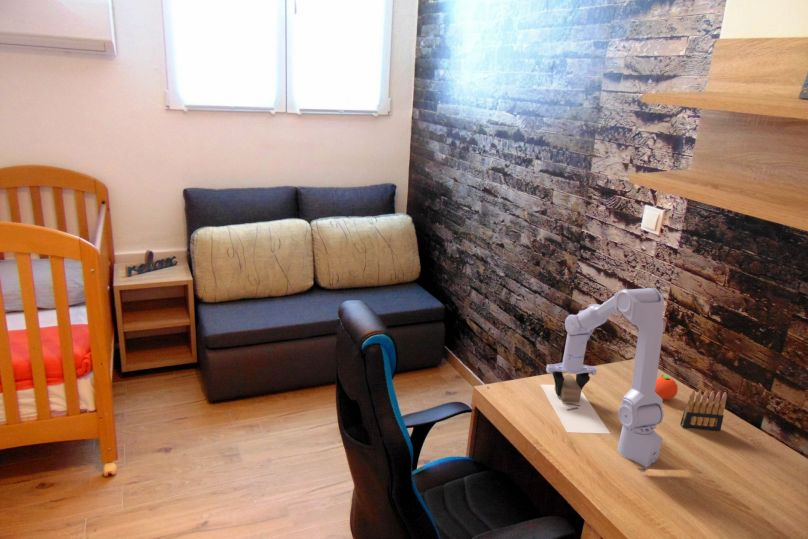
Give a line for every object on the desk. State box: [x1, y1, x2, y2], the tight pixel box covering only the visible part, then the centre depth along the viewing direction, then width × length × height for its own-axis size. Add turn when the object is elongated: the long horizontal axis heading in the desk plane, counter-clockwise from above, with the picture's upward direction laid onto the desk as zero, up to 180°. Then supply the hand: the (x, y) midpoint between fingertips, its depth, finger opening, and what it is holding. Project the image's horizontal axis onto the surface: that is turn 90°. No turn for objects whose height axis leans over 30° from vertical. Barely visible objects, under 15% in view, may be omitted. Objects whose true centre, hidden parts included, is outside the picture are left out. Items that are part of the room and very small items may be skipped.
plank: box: [539, 384, 611, 435], centre depth 175 cm, size 26×12×1 cm, turn 4°
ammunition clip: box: [679, 388, 728, 432], centre depth 170 cm, size 11×2×12 cm, turn 88°
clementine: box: [655, 375, 679, 400], centre depth 187 cm, size 8×7×7 cm
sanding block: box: [554, 375, 583, 404], centre depth 180 cm, size 8×5×5 cm, turn 4°
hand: (566, 394), depth 181 cm, fingers closed on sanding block, 5 cm apart
